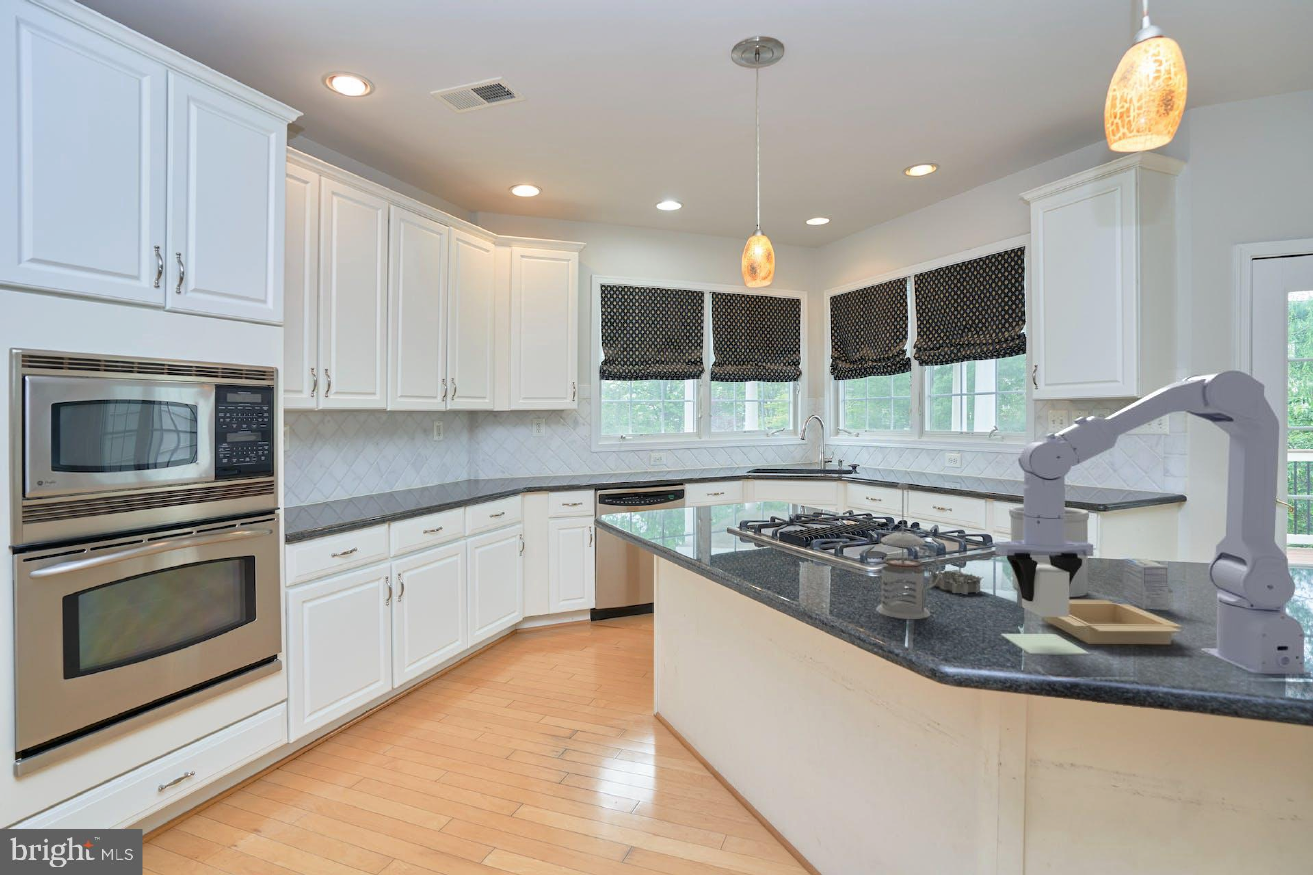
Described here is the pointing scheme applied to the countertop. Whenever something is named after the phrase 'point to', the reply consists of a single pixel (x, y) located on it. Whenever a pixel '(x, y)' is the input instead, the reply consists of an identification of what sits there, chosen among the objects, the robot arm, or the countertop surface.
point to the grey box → (1048, 592)
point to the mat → (1044, 644)
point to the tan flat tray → (1114, 623)
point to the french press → (904, 577)
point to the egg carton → (956, 581)
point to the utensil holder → (1073, 533)
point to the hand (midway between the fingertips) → (1043, 599)
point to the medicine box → (1145, 583)
